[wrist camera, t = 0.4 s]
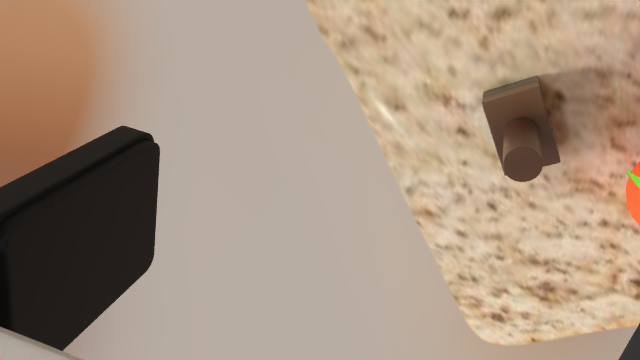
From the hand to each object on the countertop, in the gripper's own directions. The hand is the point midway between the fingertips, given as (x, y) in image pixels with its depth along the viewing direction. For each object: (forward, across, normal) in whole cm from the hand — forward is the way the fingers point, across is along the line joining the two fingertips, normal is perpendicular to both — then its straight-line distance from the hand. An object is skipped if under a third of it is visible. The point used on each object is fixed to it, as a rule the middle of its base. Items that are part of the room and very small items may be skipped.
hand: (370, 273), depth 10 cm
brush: (+35, -6, +7) cm, 36 cm away
